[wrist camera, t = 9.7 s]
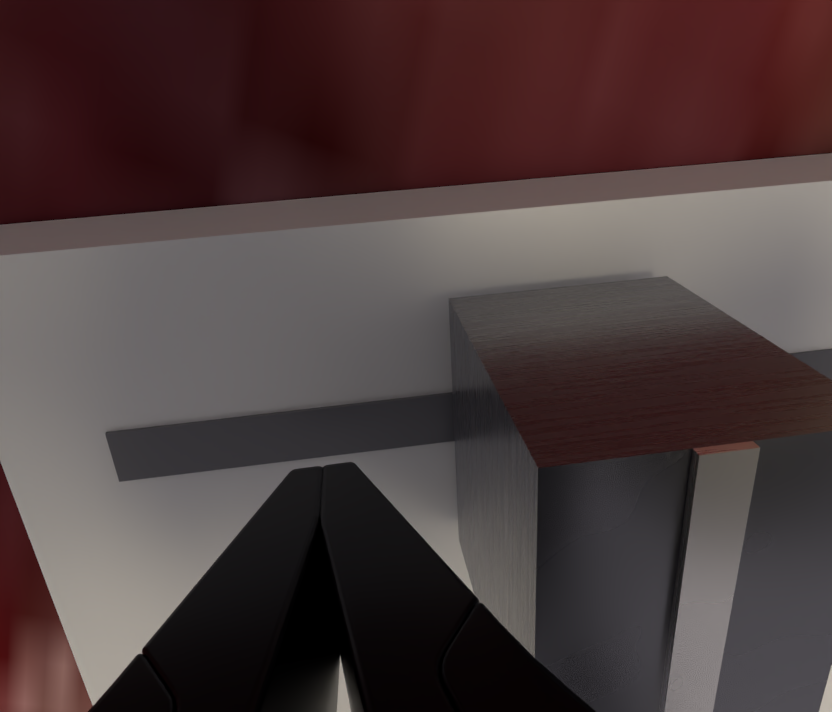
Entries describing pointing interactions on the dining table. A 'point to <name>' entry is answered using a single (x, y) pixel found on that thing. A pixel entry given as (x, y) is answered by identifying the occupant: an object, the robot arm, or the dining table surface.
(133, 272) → the slotted white panel
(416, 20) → the dining table surface
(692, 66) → the dining table surface
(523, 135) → the dining table surface
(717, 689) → the fader
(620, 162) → the dining table surface
